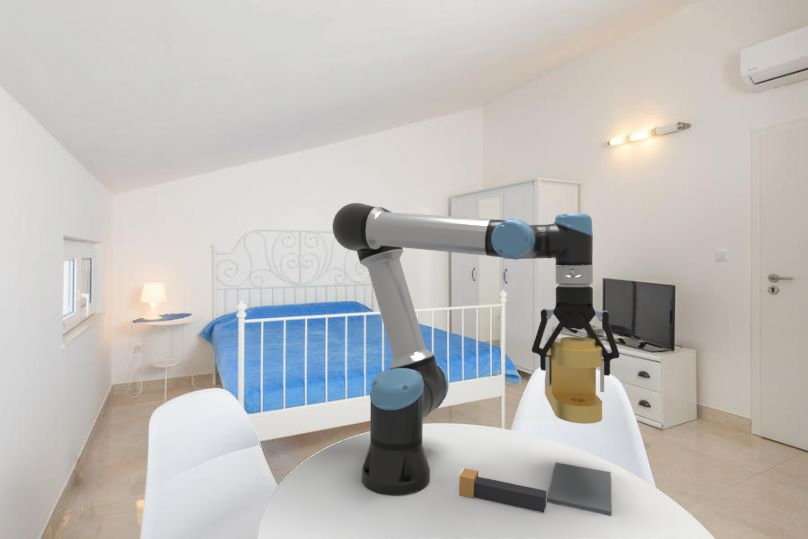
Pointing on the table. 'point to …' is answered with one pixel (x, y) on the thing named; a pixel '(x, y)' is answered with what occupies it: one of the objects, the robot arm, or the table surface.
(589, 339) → the gold clevis bracket
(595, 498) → the mat
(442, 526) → the table surface
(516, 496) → the dark grey bar
